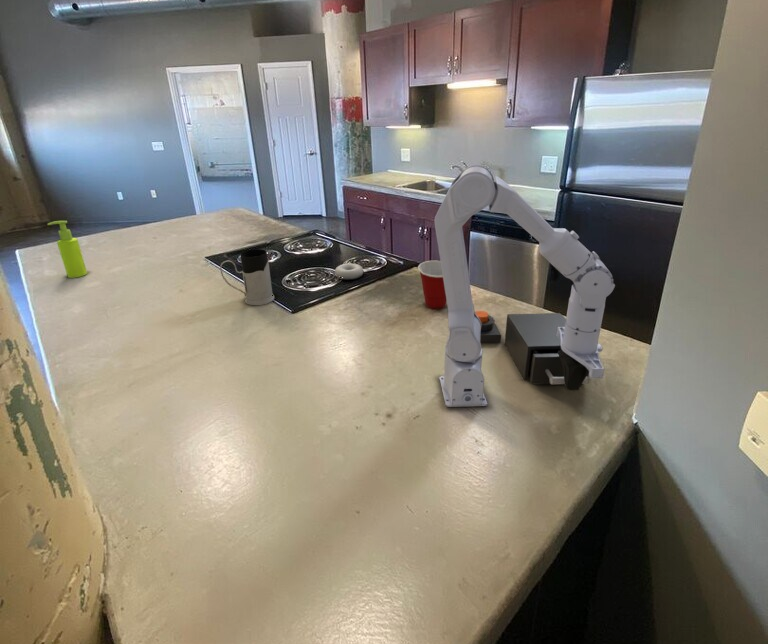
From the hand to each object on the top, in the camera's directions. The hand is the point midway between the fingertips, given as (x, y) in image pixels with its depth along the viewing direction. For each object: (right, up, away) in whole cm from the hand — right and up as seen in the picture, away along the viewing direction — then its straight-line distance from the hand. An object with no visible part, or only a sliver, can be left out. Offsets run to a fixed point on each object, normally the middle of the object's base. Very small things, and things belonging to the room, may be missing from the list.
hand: (571, 388), depth 79 cm
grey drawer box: (0, +2, +15) cm, 15 cm away
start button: (-11, +10, +26) cm, 30 cm away
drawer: (0, +1, +10) cm, 10 cm away
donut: (-48, +20, +66) cm, 84 cm away
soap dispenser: (-148, +21, +72) cm, 166 cm away
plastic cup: (-21, +12, +43) cm, 49 cm away
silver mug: (-77, +13, +48) cm, 92 cm away
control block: (-11, +6, +27) cm, 30 cm away
